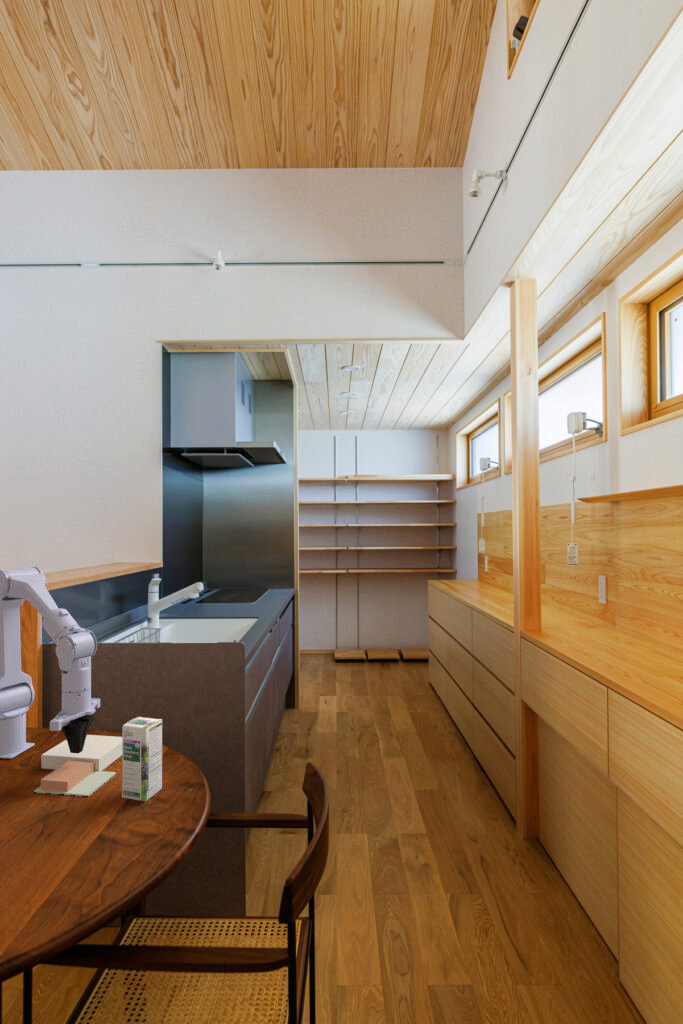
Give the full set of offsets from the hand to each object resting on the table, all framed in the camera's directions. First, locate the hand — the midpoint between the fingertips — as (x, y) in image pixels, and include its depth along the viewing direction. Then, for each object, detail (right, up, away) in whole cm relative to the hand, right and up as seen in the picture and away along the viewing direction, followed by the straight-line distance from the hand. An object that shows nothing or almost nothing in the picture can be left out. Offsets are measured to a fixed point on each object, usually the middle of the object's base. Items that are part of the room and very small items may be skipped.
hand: (76, 751), depth 120 cm
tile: (0, -5, -3) cm, 6 cm away
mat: (+2, -5, -3) cm, 6 cm away
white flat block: (-2, -5, +8) cm, 10 cm away
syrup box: (+17, -5, -8) cm, 20 cm away
